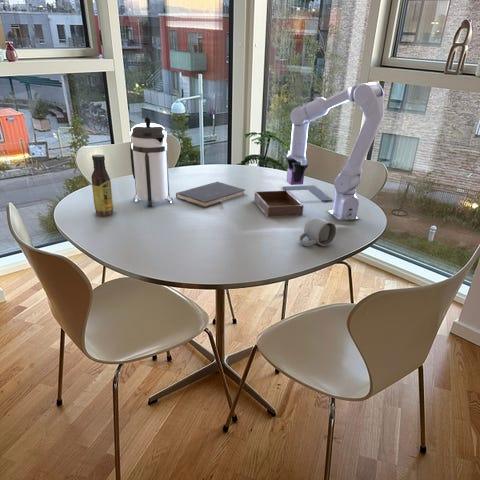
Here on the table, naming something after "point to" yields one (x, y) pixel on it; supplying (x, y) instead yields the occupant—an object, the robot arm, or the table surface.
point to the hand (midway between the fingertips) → (295, 179)
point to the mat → (312, 189)
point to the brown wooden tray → (278, 203)
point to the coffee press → (150, 162)
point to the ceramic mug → (318, 232)
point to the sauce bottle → (101, 187)
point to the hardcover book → (209, 194)
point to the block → (291, 177)
